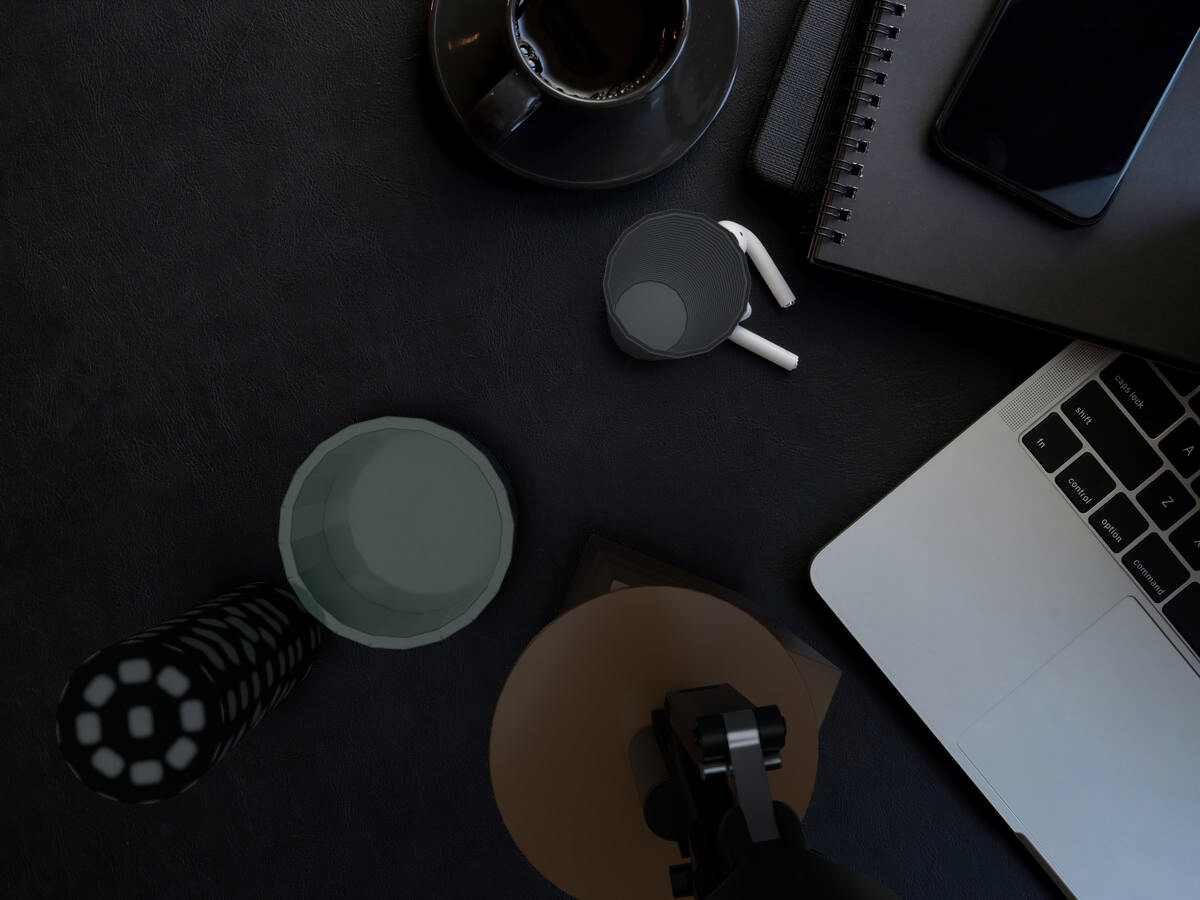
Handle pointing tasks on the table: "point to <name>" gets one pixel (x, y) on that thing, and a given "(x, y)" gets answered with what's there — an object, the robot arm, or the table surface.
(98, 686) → the spotted tube
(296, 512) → the pot
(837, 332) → the table surface
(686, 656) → the lid
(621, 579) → the stand
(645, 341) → the cup
